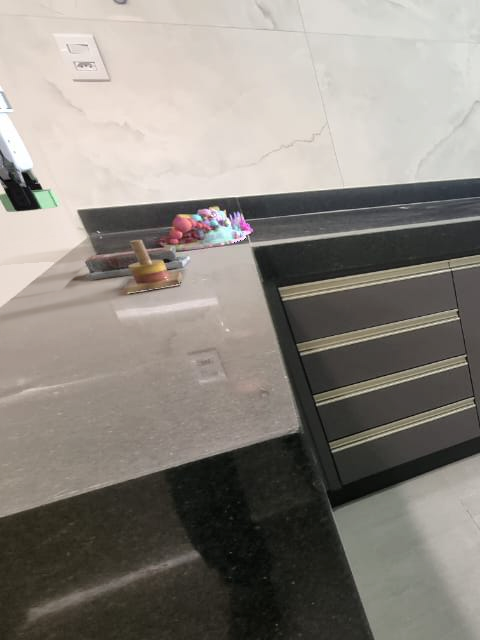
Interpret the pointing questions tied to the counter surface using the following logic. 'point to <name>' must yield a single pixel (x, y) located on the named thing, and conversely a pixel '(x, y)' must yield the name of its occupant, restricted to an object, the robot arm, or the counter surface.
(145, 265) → the stacking stand
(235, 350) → the counter surface
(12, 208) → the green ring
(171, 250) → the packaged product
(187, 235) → the candy landscape model
